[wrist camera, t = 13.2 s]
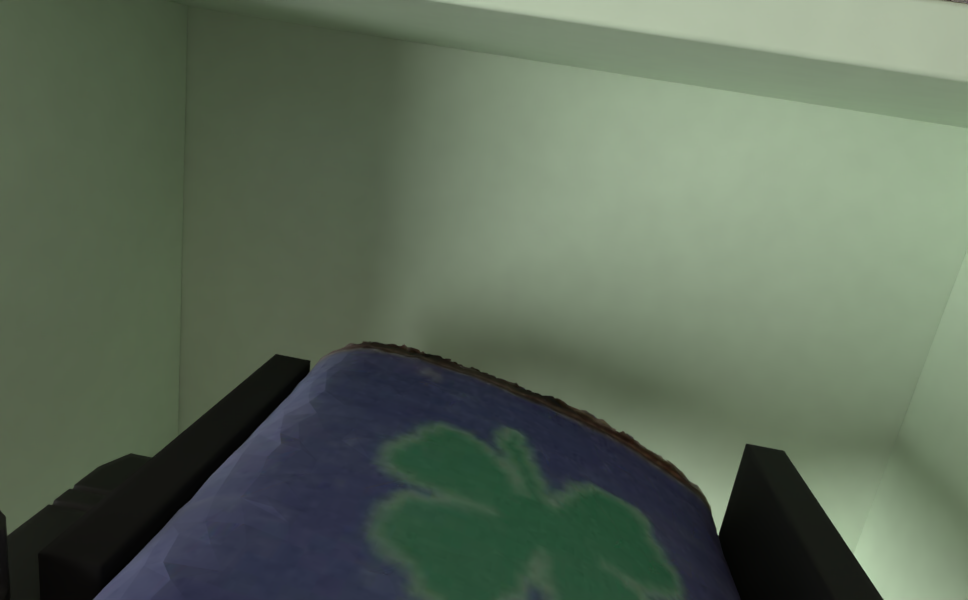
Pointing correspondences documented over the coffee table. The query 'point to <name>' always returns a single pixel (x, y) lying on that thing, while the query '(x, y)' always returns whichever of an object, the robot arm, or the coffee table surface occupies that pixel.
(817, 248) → the tub
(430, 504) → the flask
